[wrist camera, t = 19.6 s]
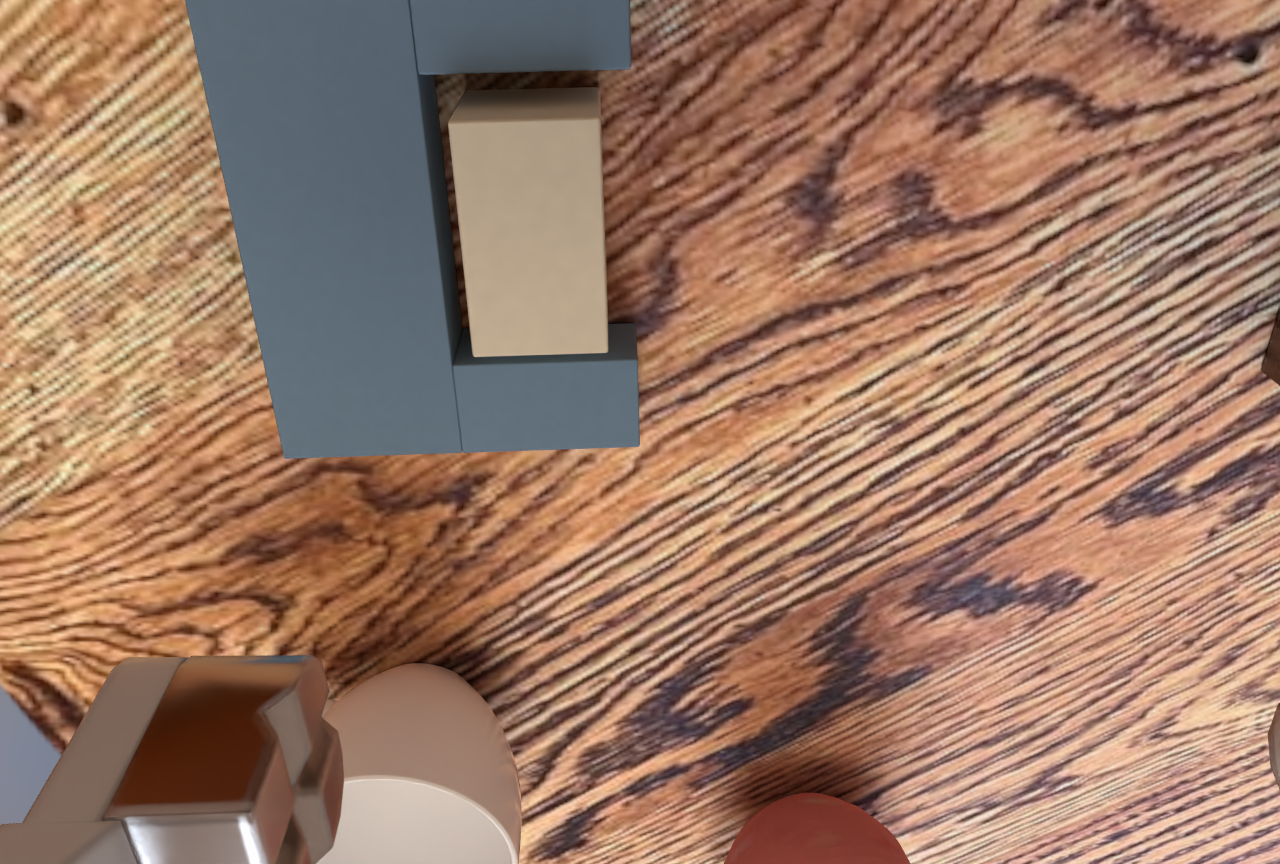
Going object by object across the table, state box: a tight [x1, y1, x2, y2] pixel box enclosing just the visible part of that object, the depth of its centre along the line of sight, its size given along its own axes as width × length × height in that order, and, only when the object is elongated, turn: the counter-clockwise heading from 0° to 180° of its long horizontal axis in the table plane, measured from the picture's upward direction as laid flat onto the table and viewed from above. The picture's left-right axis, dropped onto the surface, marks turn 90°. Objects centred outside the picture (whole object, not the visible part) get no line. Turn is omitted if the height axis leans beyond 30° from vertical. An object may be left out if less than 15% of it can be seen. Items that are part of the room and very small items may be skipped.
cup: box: [316, 663, 521, 864], centre depth 34 cm, size 8×10×7 cm
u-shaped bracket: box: [185, 0, 640, 459], centre depth 27 cm, size 13×10×2 cm
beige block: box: [448, 87, 608, 357], centre depth 27 cm, size 6×4×4 cm, turn 1°
